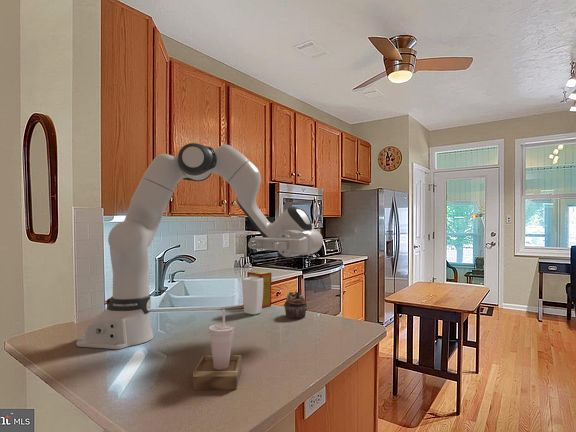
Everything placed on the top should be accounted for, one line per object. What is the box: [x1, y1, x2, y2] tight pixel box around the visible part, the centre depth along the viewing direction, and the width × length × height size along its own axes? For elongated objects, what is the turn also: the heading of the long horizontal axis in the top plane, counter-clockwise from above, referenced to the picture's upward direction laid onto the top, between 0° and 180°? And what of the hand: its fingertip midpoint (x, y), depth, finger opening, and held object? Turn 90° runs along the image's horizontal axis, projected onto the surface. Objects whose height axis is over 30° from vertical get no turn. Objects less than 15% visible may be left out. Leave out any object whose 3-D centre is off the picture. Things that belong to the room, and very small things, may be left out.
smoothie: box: [208, 309, 236, 370], centre depth 84 cm, size 6×6×14 cm
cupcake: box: [283, 291, 308, 320], centre depth 141 cm, size 10×10×10 cm
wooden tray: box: [192, 354, 242, 391], centre depth 84 cm, size 10×10×4 cm
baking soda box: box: [247, 270, 272, 309], centre depth 160 cm, size 10×6×16 cm
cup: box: [242, 277, 263, 316], centre depth 146 cm, size 7×7×15 cm
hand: (261, 245), depth 102 cm, fingers open, 8 cm apart
